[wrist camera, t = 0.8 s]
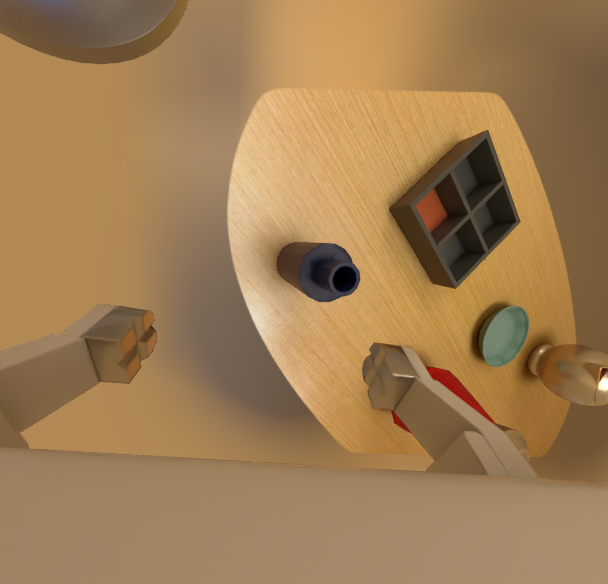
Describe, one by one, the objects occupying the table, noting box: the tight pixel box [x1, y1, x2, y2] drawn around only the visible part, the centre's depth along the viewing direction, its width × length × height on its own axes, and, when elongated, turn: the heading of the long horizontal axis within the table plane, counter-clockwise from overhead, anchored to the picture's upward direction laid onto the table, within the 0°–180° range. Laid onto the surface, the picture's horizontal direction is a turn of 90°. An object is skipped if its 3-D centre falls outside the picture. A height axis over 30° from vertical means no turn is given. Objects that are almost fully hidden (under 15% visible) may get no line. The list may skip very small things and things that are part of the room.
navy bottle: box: [277, 242, 360, 302], centre depth 29 cm, size 6×6×16 cm
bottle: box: [391, 367, 530, 463], centre depth 40 cm, size 16×14×20 cm
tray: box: [390, 130, 520, 289], centre depth 41 cm, size 18×18×5 cm
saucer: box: [478, 306, 529, 367], centre depth 53 cm, size 15×15×3 cm
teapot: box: [528, 344, 608, 406], centre depth 55 cm, size 18×14×16 cm
